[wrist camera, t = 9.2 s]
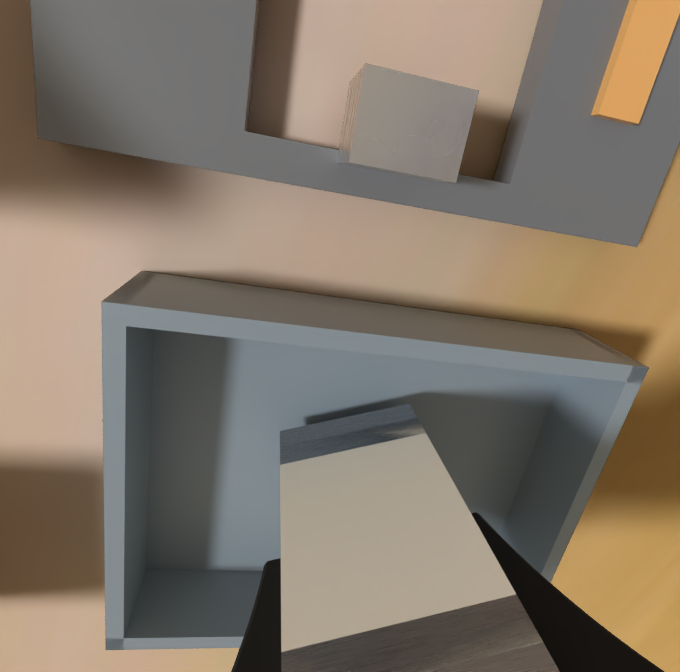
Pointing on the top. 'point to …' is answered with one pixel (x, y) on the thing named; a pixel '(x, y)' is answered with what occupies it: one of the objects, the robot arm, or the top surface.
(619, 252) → the top surface
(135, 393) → the tray
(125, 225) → the top surface
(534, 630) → the tan rectangular block
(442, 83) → the frame
